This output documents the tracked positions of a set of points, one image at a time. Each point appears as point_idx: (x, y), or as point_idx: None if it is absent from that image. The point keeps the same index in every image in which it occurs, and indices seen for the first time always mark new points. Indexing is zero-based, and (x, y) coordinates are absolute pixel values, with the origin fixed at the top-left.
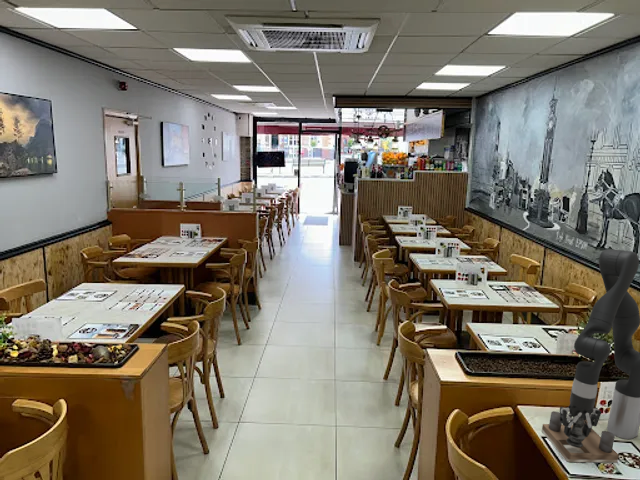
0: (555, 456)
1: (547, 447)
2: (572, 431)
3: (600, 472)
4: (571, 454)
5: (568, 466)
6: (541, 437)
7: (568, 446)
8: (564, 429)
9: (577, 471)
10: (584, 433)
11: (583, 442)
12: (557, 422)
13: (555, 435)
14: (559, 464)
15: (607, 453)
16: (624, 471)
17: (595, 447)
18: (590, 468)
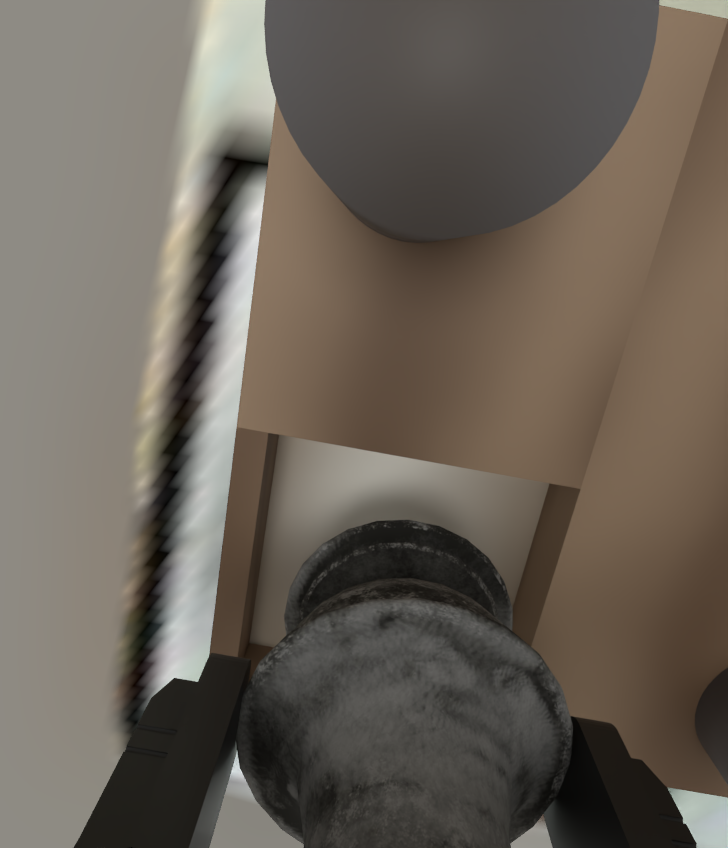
0: (155, 542)
1: (159, 384)
2: (300, 795)
3: None
4: None
5: None
6: (209, 165)
7: (407, 466)
8: (124, 759)
9: (236, 754)
10: (565, 804)
11: (606, 551)
12: (376, 225)
13: (298, 327)
14: (118, 651)
15: (717, 775)
16: (702, 828)
17: (677, 662)
18: None
